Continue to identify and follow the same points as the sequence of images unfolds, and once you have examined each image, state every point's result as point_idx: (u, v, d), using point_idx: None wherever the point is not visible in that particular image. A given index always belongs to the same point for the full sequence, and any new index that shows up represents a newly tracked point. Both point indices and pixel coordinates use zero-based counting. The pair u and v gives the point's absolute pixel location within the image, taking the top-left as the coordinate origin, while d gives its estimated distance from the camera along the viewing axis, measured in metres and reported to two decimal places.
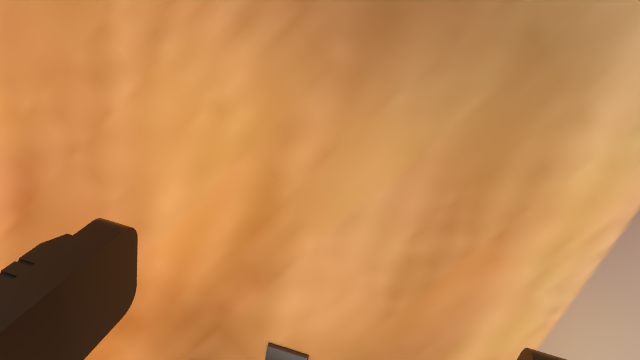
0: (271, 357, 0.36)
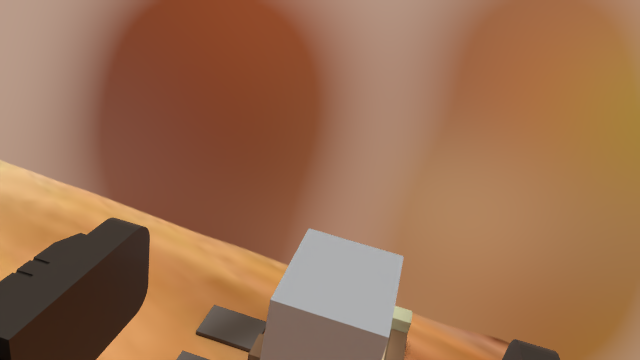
0: None
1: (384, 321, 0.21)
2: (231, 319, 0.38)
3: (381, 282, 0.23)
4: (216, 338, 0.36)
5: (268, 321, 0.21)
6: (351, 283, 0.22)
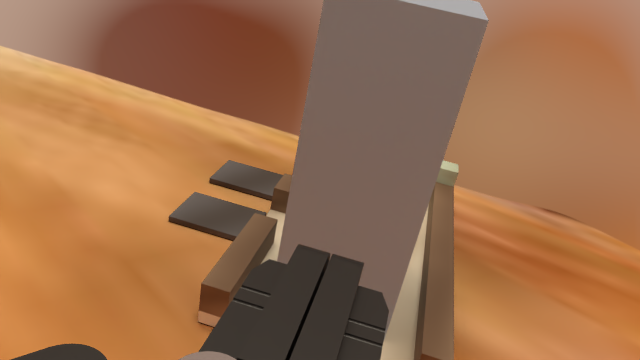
0: (190, 218, 0.27)
1: (477, 14, 0.16)
2: (249, 172, 0.32)
3: (461, 4, 0.18)
4: (233, 185, 0.31)
5: (322, 23, 0.16)
6: None
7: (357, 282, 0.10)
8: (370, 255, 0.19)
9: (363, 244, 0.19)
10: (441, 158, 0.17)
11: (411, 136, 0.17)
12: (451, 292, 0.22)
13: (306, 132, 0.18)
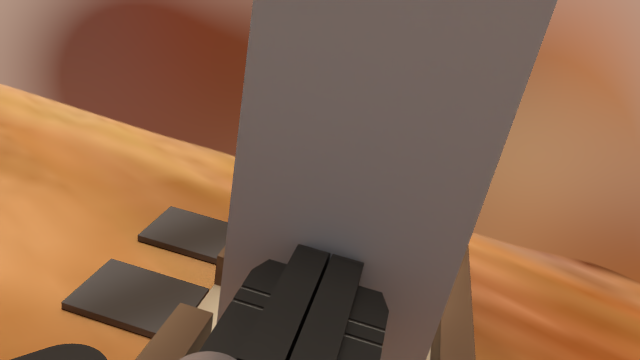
0: (94, 304, 0.18)
1: None
2: (195, 223, 0.24)
3: None
4: (169, 245, 0.22)
5: (257, 4, 0.09)
6: None
7: (357, 282, 0.10)
8: None
9: None
10: (468, 235, 0.10)
11: (416, 198, 0.10)
12: None
13: (241, 188, 0.11)
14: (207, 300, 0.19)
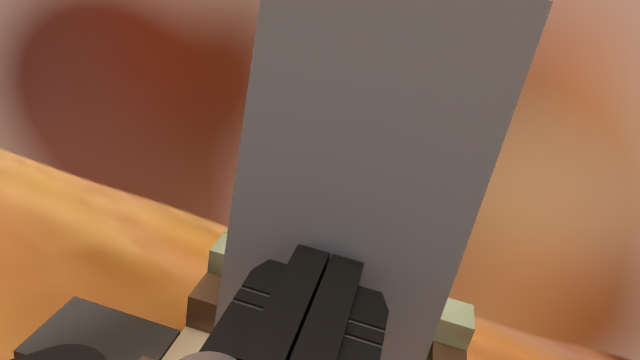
0: None
1: None
2: (102, 325, 0.18)
3: None
4: None
5: (262, 10, 0.09)
6: None
7: (357, 282, 0.10)
8: None
9: None
10: (465, 238, 0.10)
11: (415, 201, 0.10)
12: None
13: (242, 191, 0.11)
14: None
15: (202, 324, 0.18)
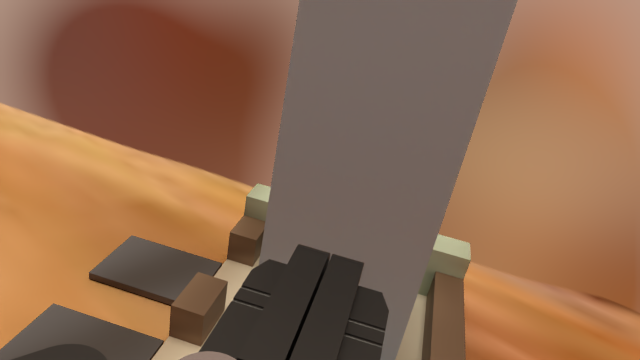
0: None
1: None
2: (157, 257, 0.22)
3: None
4: (124, 285, 0.20)
5: None
6: None
7: (357, 282, 0.10)
8: None
9: None
10: (456, 172, 0.13)
11: (418, 144, 0.13)
12: None
13: (285, 139, 0.14)
14: (158, 357, 0.17)
15: (241, 257, 0.22)
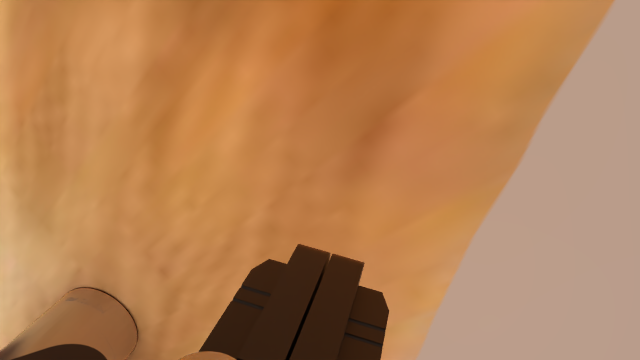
0: None
1: None
2: None
3: None
4: None
5: None
6: None
7: (357, 282, 0.10)
8: None
9: None
10: None
11: None
12: None
13: None
14: None
15: None
